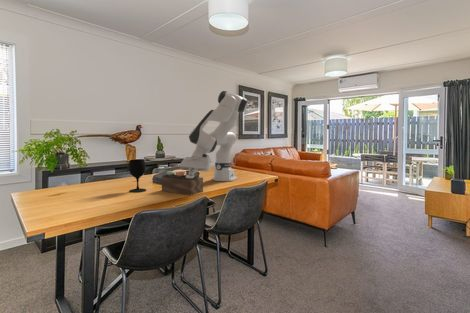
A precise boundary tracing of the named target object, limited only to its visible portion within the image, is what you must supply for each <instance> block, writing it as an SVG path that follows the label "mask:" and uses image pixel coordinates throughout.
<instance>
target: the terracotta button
mask: <svg viewBox="0 0 470 313" xmlns="http://www.w3.org/2000/svg"><path fill="white" fill-rule="evenodd" d="M175 175H176V176H185V172H184V171H176V173H175Z"/></svg>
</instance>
